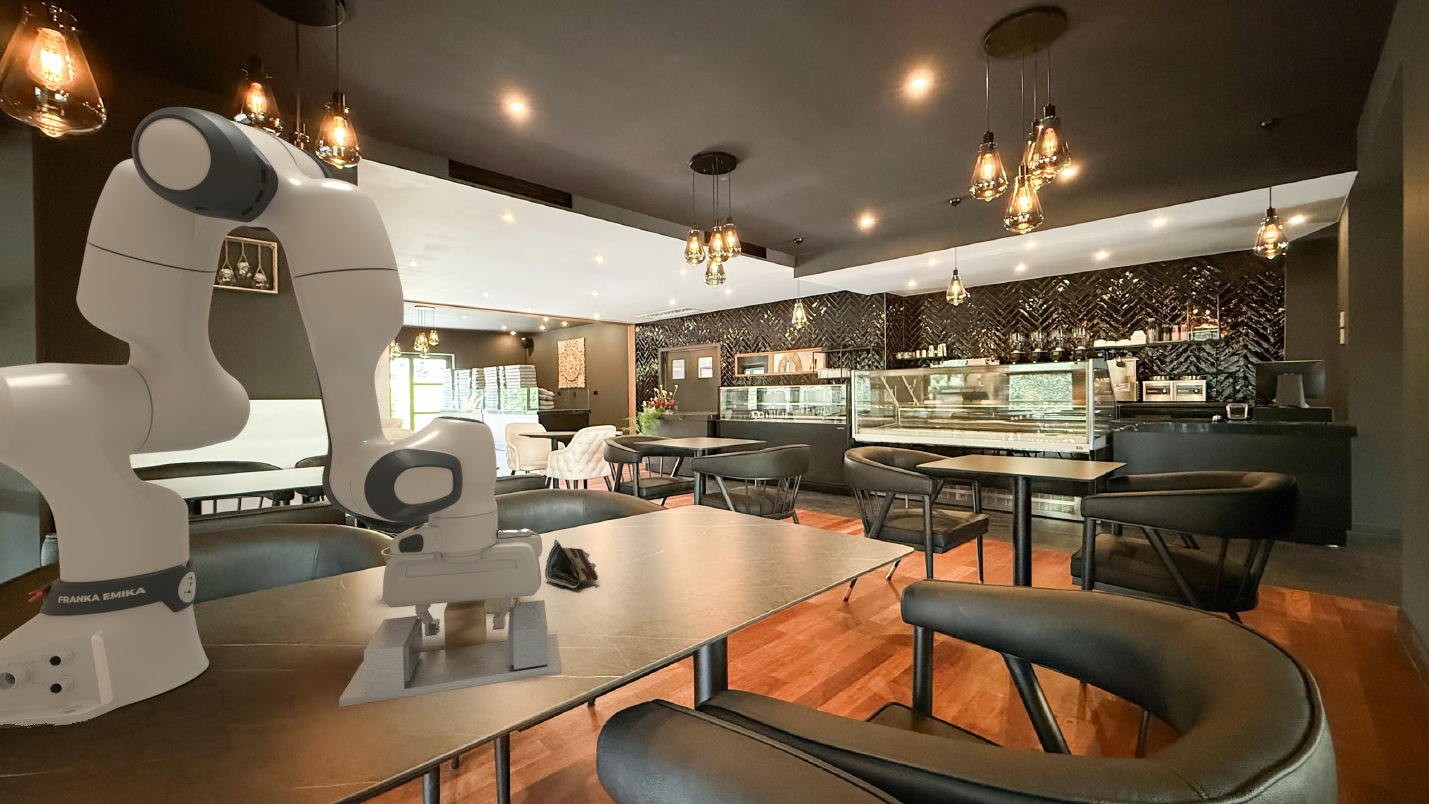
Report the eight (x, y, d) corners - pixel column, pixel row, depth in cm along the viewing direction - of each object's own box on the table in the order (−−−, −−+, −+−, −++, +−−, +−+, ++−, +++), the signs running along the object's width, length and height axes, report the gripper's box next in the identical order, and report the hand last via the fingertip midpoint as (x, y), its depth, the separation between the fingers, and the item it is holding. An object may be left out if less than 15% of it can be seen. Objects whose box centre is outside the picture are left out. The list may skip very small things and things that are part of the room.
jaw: (508, 670, 70) (508, 631, 70) (510, 638, 79) (509, 604, 79) (548, 664, 71) (547, 626, 71) (545, 633, 81) (544, 599, 81)
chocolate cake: (613, 581, 106) (595, 530, 114) (580, 580, 101) (564, 526, 109) (586, 612, 109) (571, 559, 117) (553, 612, 104) (540, 557, 112)
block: (445, 655, 78) (444, 611, 78) (448, 644, 81) (447, 602, 81) (484, 650, 79) (483, 606, 79) (486, 638, 83) (485, 597, 83)
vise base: (339, 710, 64) (338, 655, 64) (363, 670, 74) (361, 622, 74) (560, 674, 72) (559, 624, 72) (556, 642, 81) (555, 598, 81)
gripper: (543, 523, 85) (545, 615, 85) (393, 531, 81) (395, 629, 81) (539, 532, 79) (541, 632, 79) (376, 542, 75) (379, 648, 75)
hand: (466, 631), depth 80 cm, fingers open, 7 cm apart
